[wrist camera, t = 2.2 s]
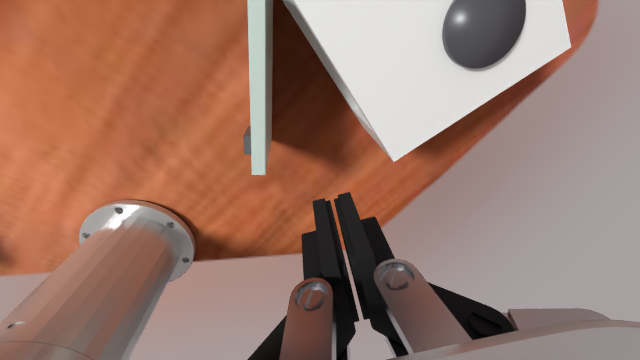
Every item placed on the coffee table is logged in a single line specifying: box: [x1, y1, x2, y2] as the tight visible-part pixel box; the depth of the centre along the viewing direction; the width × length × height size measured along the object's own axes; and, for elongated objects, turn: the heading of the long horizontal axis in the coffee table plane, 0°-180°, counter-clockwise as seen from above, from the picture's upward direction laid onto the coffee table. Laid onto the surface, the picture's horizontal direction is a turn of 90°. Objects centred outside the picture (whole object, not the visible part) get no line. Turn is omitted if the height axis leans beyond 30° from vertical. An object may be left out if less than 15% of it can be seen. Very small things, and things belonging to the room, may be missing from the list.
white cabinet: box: [282, 0, 571, 162], centre depth 21 cm, size 14×16×11 cm
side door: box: [244, 0, 273, 175], centre depth 22 cm, size 2×13×9 cm, turn 175°
